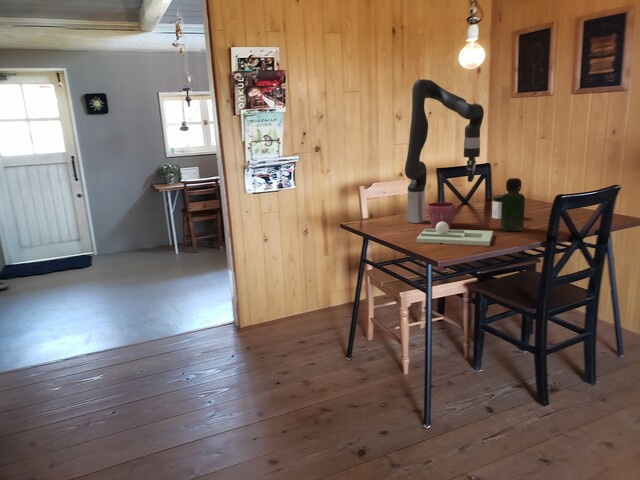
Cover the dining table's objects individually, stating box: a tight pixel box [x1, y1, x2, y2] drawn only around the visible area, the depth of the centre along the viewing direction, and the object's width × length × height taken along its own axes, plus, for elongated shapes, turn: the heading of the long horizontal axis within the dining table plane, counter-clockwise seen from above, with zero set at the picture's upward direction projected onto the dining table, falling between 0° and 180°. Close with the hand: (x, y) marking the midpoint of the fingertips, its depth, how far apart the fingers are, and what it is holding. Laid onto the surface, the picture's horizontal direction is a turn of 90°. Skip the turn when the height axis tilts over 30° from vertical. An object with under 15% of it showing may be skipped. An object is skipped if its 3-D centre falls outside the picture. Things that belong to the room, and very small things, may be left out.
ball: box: [436, 222, 450, 234], centre depth 223 cm, size 6×6×6 cm
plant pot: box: [426, 201, 456, 230], centre depth 242 cm, size 14×14×13 cm
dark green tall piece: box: [500, 177, 526, 232], centre depth 230 cm, size 10×10×25 cm
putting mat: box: [416, 228, 494, 247], centre depth 222 cm, size 32×20×3 cm, turn 66°
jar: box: [491, 194, 504, 220], centre depth 259 cm, size 9×8×12 cm
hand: (470, 180), depth 232 cm, fingers open, 8 cm apart
